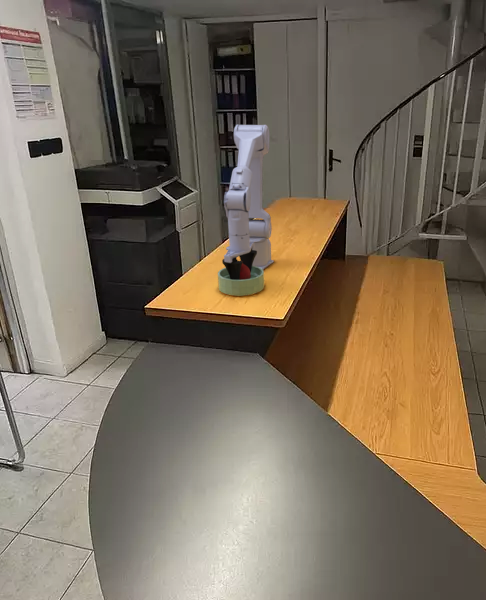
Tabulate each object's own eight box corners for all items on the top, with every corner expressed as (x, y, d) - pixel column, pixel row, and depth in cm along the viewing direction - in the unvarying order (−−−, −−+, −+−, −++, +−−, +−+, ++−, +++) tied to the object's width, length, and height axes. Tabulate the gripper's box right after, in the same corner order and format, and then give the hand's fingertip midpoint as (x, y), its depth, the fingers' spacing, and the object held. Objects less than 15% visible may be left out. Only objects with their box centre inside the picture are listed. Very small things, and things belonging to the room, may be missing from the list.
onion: (248, 291, 138) (247, 264, 135) (228, 289, 139) (227, 263, 136) (253, 284, 143) (252, 258, 140) (234, 282, 145) (233, 257, 141)
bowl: (225, 279, 148) (224, 264, 147) (267, 281, 147) (267, 265, 145) (213, 295, 136) (212, 279, 134) (259, 298, 135) (258, 281, 133)
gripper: (238, 225, 143) (240, 269, 148) (213, 238, 130) (216, 285, 136) (260, 228, 140) (261, 272, 146) (236, 241, 128) (238, 288, 133)
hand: (241, 278), depth 140 cm, fingers open, 7 cm apart
